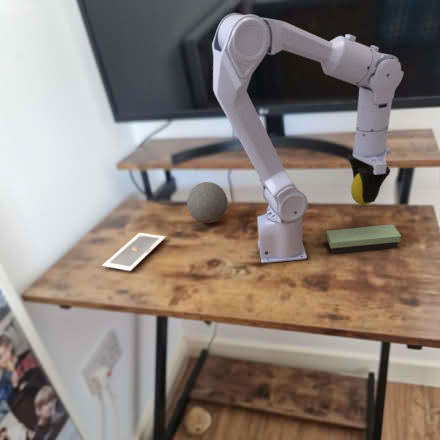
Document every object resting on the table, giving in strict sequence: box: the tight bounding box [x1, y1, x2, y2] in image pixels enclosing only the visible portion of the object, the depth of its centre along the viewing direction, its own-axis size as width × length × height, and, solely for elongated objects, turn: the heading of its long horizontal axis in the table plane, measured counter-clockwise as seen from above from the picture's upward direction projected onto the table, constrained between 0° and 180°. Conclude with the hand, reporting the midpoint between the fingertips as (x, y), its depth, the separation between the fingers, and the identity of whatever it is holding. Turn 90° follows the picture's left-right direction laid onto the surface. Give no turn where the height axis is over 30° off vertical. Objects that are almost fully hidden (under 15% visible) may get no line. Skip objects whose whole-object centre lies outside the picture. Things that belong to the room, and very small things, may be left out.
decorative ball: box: [186, 181, 228, 224], centre depth 100 cm, size 10×10×10 cm
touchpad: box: [101, 232, 167, 272], centre depth 93 cm, size 8×15×2 cm, turn 155°
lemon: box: [350, 173, 381, 207], centre depth 82 cm, size 6×6×8 cm
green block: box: [325, 224, 402, 255], centre depth 85 cm, size 14×5×3 cm, turn 90°
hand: (364, 195), depth 83 cm, fingers closed on lemon, 5 cm apart
